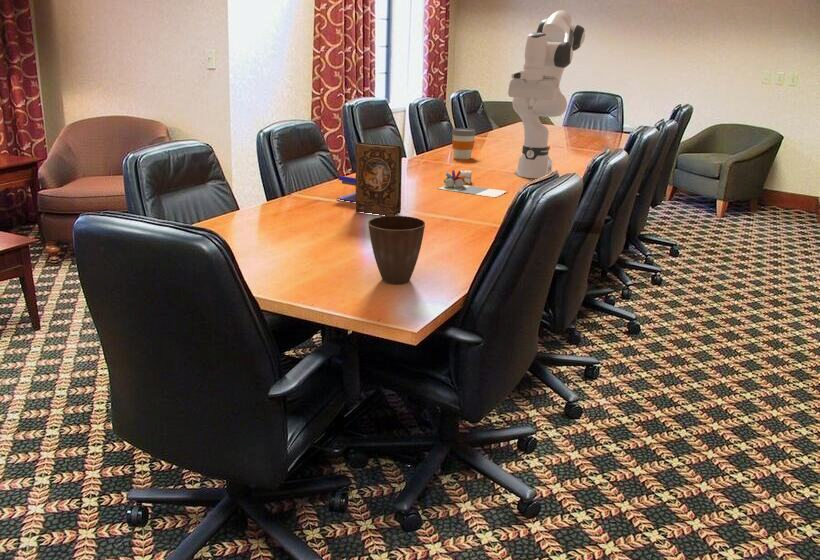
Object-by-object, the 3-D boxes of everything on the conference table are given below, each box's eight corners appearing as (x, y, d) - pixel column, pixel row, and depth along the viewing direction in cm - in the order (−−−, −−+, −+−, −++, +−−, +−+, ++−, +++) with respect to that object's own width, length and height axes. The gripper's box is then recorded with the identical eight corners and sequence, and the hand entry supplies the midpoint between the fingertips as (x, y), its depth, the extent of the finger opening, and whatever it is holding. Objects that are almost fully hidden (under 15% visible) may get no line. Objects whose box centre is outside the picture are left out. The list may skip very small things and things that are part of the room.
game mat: (452, 183, 309) (452, 183, 309) (508, 191, 296) (508, 191, 296) (437, 189, 298) (437, 188, 297) (495, 197, 285) (495, 197, 285)
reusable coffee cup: (447, 156, 378) (448, 128, 373) (468, 155, 382) (470, 127, 377) (455, 160, 367) (457, 131, 362) (477, 159, 370) (479, 130, 365)
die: (460, 181, 315) (460, 170, 313) (471, 181, 314) (471, 170, 313) (458, 183, 310) (459, 172, 309) (469, 184, 310) (470, 172, 308)
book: (353, 212, 255) (353, 144, 246) (359, 209, 260) (359, 142, 251) (395, 217, 250) (397, 147, 241) (400, 214, 255) (402, 145, 246)
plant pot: (358, 284, 183) (358, 225, 178) (380, 267, 197) (381, 212, 191) (411, 292, 178) (413, 232, 173) (430, 275, 192) (432, 219, 186)
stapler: (335, 201, 273) (335, 176, 270) (375, 189, 296) (375, 166, 293) (359, 205, 268) (359, 180, 264) (398, 192, 290) (398, 169, 287)
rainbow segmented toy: (465, 189, 298) (466, 172, 295) (442, 188, 299) (443, 171, 296) (466, 185, 305) (467, 168, 303) (444, 184, 306) (444, 167, 304)
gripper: (561, 76, 279) (557, 111, 284) (514, 73, 289) (511, 107, 293) (555, 76, 274) (552, 112, 279) (507, 74, 284) (505, 108, 288)
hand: (531, 110), depth 286 cm, fingers closed
